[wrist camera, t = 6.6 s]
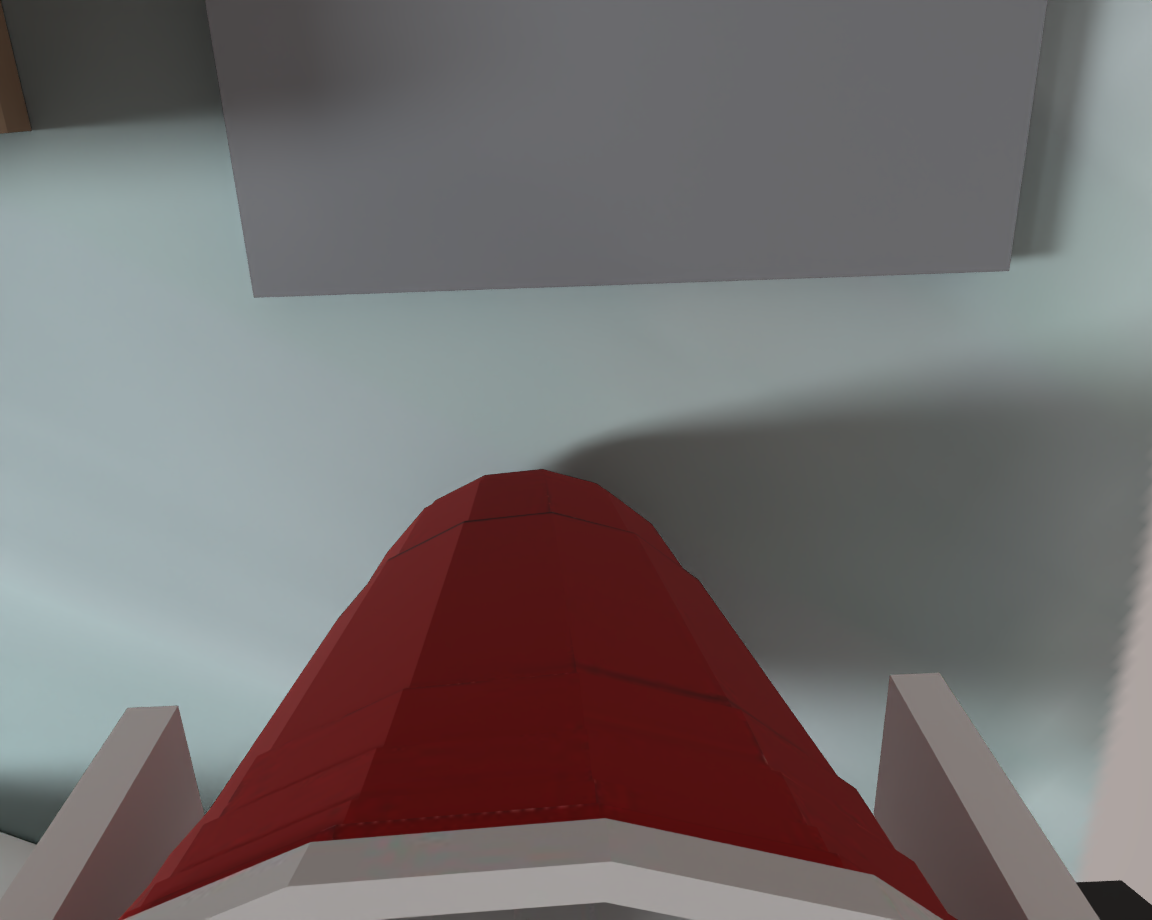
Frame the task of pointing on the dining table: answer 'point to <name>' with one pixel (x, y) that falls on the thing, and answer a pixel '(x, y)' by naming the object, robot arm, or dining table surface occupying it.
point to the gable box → (12, 858)
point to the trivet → (622, 139)
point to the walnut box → (10, 87)
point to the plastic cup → (535, 747)
